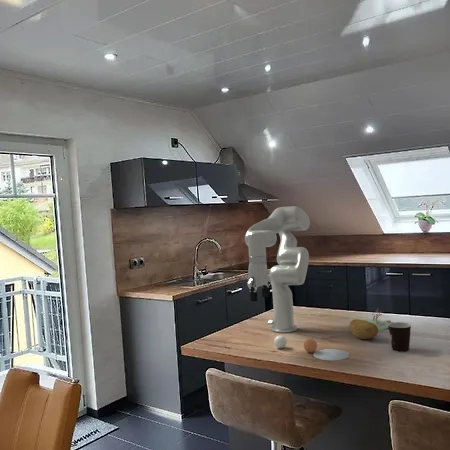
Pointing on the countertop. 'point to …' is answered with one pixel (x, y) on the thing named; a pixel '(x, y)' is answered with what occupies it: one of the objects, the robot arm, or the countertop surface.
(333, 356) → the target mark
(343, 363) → the countertop surface
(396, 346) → the coffee mug
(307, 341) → the object ball
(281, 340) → the cue ball
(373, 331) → the potato
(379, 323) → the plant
